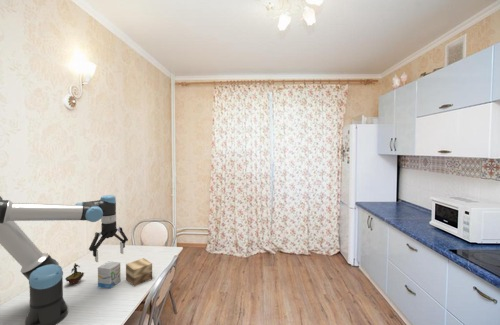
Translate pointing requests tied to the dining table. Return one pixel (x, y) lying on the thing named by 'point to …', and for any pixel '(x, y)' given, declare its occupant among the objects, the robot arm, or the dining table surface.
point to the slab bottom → (138, 278)
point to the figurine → (74, 275)
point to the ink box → (108, 274)
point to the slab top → (138, 268)
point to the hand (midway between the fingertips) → (109, 257)
